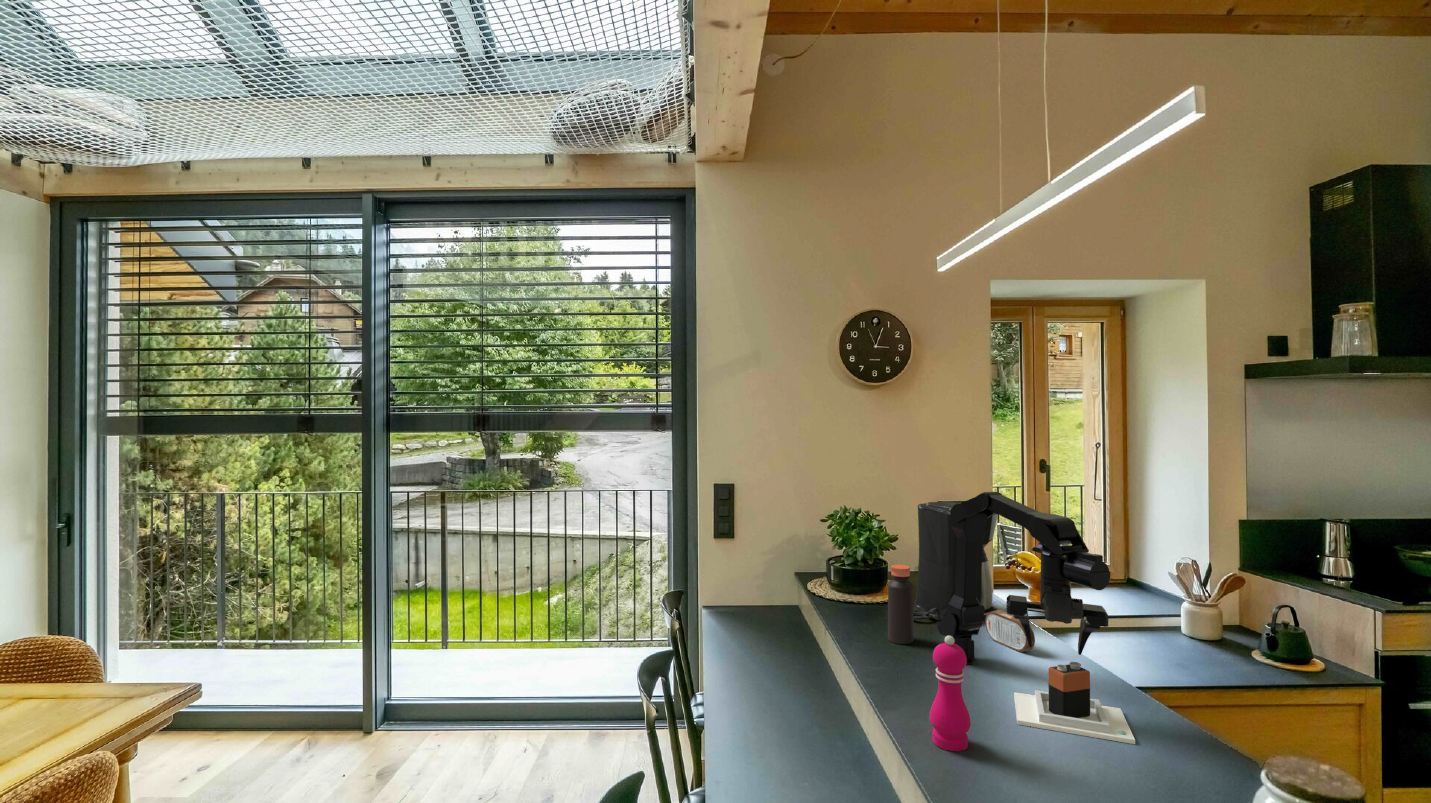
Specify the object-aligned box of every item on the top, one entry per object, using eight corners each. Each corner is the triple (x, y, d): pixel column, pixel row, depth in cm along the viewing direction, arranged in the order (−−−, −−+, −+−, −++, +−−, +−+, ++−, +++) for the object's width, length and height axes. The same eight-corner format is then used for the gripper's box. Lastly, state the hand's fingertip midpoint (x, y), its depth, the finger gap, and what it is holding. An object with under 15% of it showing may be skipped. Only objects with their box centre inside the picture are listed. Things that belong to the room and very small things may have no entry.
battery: (1091, 716, 129) (1091, 666, 130) (1064, 721, 127) (1064, 670, 128) (1073, 706, 134) (1073, 658, 134) (1047, 711, 132) (1047, 662, 132)
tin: (1036, 655, 165) (1035, 622, 165) (1026, 656, 164) (1026, 623, 164) (992, 636, 179) (992, 605, 179) (983, 637, 178) (983, 606, 178)
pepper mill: (923, 734, 124) (923, 629, 124) (959, 732, 124) (959, 628, 125) (939, 753, 117) (939, 643, 117) (978, 752, 117) (977, 641, 118)
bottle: (896, 634, 180) (895, 562, 180) (918, 640, 175) (918, 566, 175) (883, 640, 175) (883, 566, 176) (905, 646, 170) (905, 571, 171)
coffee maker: (1009, 611, 202) (1008, 503, 202) (963, 635, 179) (962, 514, 180) (940, 596, 218) (940, 496, 219) (890, 617, 195) (890, 506, 196)
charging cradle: (1017, 724, 128) (1017, 712, 128) (1014, 695, 141) (1014, 685, 141) (1135, 744, 120) (1135, 731, 120) (1120, 712, 133) (1120, 700, 133)
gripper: (1008, 581, 132) (1007, 656, 132) (1113, 593, 125) (1112, 673, 125) (1006, 568, 142) (1005, 638, 142) (1104, 578, 135) (1103, 652, 135)
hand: (1054, 650), depth 136 cm, fingers open, 9 cm apart
